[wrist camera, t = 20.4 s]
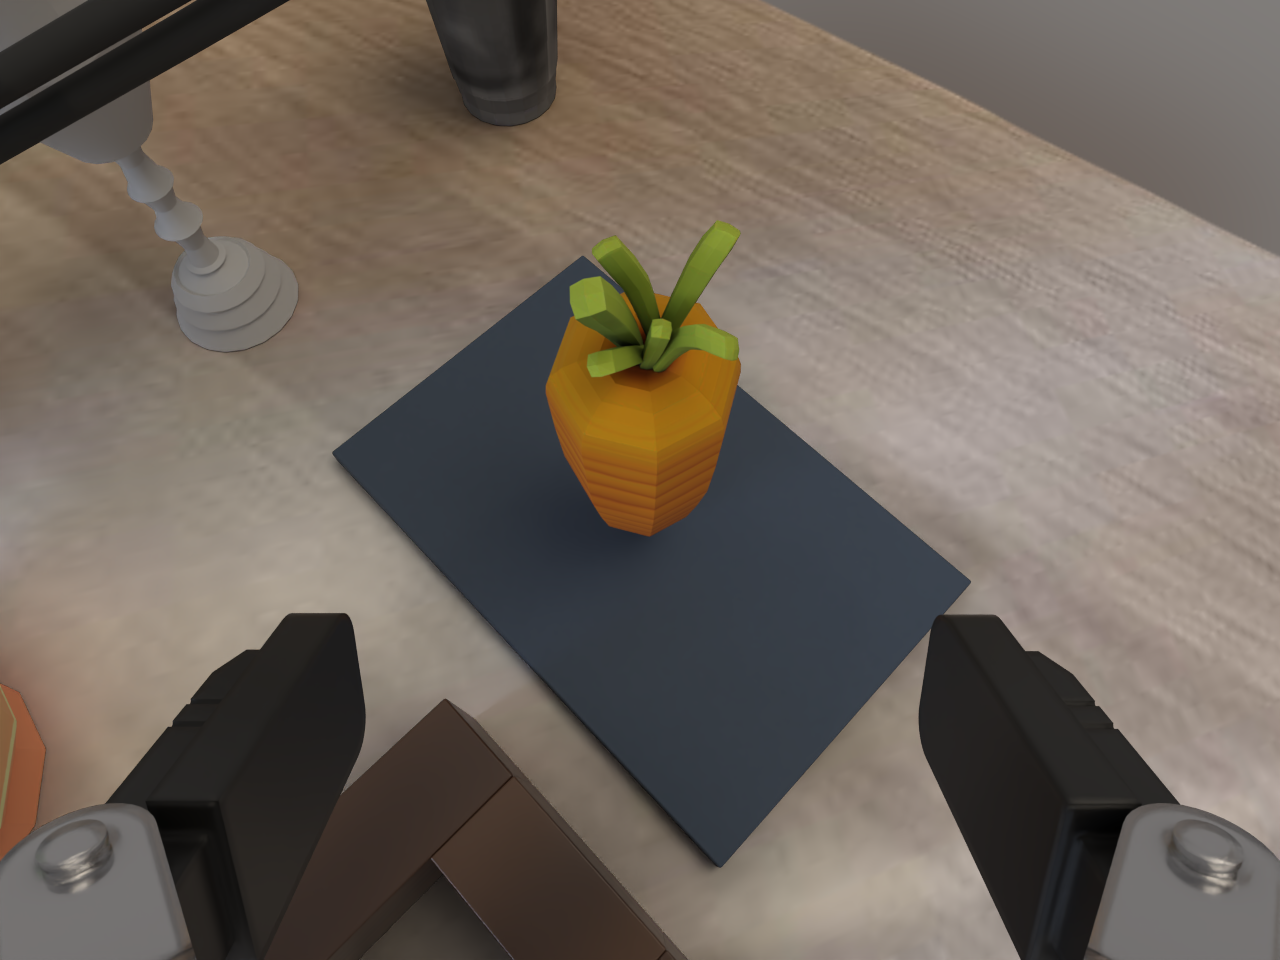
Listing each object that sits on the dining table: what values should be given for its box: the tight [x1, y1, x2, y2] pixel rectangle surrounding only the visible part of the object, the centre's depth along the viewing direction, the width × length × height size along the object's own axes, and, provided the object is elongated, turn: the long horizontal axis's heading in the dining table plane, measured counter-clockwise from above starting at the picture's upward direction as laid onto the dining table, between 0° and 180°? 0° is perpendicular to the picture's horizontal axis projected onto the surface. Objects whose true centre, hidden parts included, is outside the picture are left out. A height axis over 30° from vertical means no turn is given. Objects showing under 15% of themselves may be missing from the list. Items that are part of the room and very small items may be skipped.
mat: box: [332, 256, 971, 867], centre depth 30 cm, size 20×13×1 cm, turn 45°
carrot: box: [546, 220, 741, 537], centre depth 23 cm, size 5×5×15 cm
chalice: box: [0, 0, 298, 352], centre depth 27 cm, size 7×7×18 cm
